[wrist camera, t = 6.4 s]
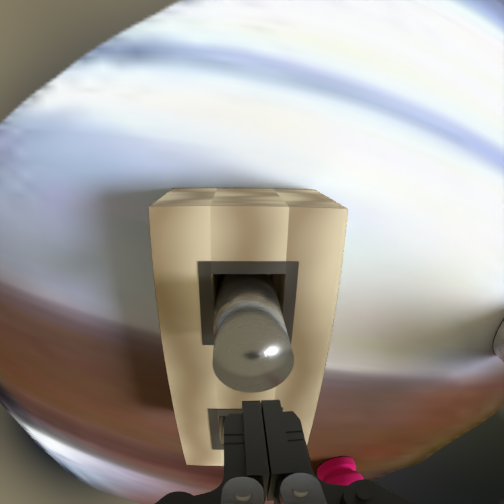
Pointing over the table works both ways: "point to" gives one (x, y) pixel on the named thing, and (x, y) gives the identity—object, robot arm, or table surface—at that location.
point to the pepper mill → (338, 471)
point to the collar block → (242, 262)
